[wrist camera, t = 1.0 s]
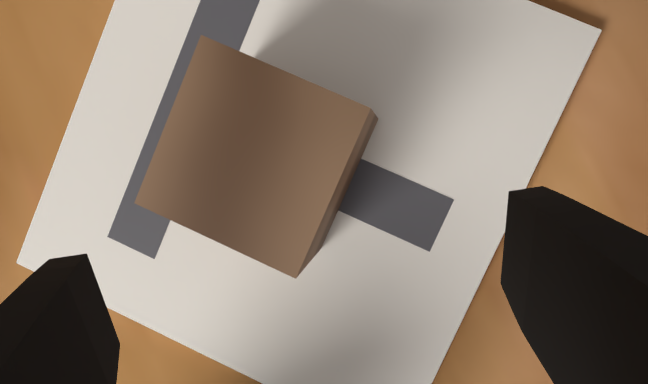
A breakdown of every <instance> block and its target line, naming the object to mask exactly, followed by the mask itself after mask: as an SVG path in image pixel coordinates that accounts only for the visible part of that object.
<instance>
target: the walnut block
mask: <svg viewBox="0 0 648 384" xmlns="http://www.w3.org/2000/svg"><path fill="white" fill-rule="evenodd" d="M377 121H378V117H377V116H376V114H375V113H374V112H373V110H372V109H371V108H369V107H367V106H365V105H363V104H360V103H358V102H356V101H353V100H351V99H349V98H346V97H344V96H342V95H339V94H337V93H335V92H332V91H330V90H328V89H326V88H323V87H321V86H319V85H316V84H314V83H312V82H309V81H307V80H305V79H302V78H300V77H298V76H295V75H293V74H291V73H289V72H286V71H284V70H282V69H279V68H277V67H275V66H272V65H270V64H268V63H265V62H263V61H261V60H258V59H256V58H254V57H252V56H249V55H247V54H245V53H242V52H240V51H238V50H235V49H233V48H231V47H228V46H226V45H224V44H221V43H219V42H217V41H214V40H212V39H210V38H208V37H205V36H203V35H201V36H200V39H199V41H198V44H197V46H196V49H195V51H194V54H193V56H192V59H191V61H190V64H189V66H188V69H187V71H186V74H185V76H184V79H183V81H182V84H181V86H180V89H179V91H178V94H177V96H176V99H175V101H174V104H173V107H172V109H171V112H170V114H169V117H168V119H167V122H166V124H165V127H164V129H163V132H162V134H161V137H160V139H159V142H158V144H157V147H156V149H155V152H154V154H153V157H152V159H151V162H150V164H149V167H148V169H147V172H146V175H145V177H144V180H143V182H142V185H141V187H140V190H139V192H138V195H137V197H136V200H135V202H134V203H135V204H137V205H139V206H141V207H144V208H146V209H148V210H150V211H152V212H154V213H156V214H158V215H161V216H163V217H165V218H167V219H169V220H171V221H173V222H176V223H178V224H180V225H182V226H184V227H186V228H188V229H190V230H193V231H195V232H197V233H199V234H201V235H203V236H205V237H208V238H210V239H212V240H214V241H216V242H218V243H220V244H222V245H225V246H227V247H229V248H231V249H233V250H235V251H237V252H240V253H242V254H244V255H246V256H248V257H250V258H252V259H255V260H257V261H259V262H261V263H263V264H265V265H267V266H269V267H272V268H274V269H276V270H278V271H280V272H282V273H284V274H287V275H289V276H291V277H293V278H295V279H296V278H297V277H298V276H299V274H300V273H301V272H302V271H303V270H304V268H305V267H306V266H307V265H308V264H309V262H310V261H311V260H312V259H313V258H314V257H315V255H316V254H317V253H318V252H319V251H320V249H321V248H322V246H323V243H324V241H325V239H326V236H327V234H328V232H329V230H330V227H331V225H332V223H333V221H334V218H335V216H336V214H337V212H338V209H339V207H340V205H341V203H342V200H343V198H344V196H345V194H346V191H347V189H348V187H349V184H350V182H351V180H352V178H353V175H354V173H355V171H356V169H357V166H358V164H359V162H360V160H361V157H362V155H363V153H364V151H365V148H366V146H367V144H368V142H369V139H370V137H371V135H372V133H373V130H374V128H375V126H376V123H377Z"/></svg>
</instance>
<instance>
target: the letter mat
mask: <svg viewBox="0 0 648 384" xmlns="http://www.w3.org/2000/svg"><path fill="white" fill-rule="evenodd" d="M601 31H602V30H601V29H598V28H596V27H593V26H591V25H588V24H586V23H583V22H581V21H578V20H576V19H573V18H571V17H568V16H566V15H563V14H561V13H558V12H556V11H553V10H551V9H548V8H546V7H544V6H541V5H539V4H536V3H534V2H531V1H529V0H115V2H114V4H113V7H112V10H111V12H110V15H109V18H108V20H107V23H106V26H105V28H104V31H103V33H102V36H101V39H100V41H99V44H98V47H97V49H96V52H95V55H94V57H93V60H92V63H91V65H90V68H89V71H88V73H87V76H86V79H85V81H84V84H83V87H82V89H81V92H80V95H79V97H78V100H77V103H76V105H75V108H74V111H73V113H72V116H71V119H70V121H69V124H68V127H67V129H66V132H65V135H64V137H63V140H62V143H61V145H60V148H59V150H58V153H57V156H56V158H55V161H54V164H53V166H52V169H51V172H50V174H49V177H48V180H47V182H46V185H45V188H44V190H43V193H42V196H41V198H40V201H39V204H38V206H37V209H36V212H35V214H34V217H33V220H32V222H31V225H30V228H29V230H28V233H27V236H26V238H25V241H24V244H23V246H22V249H21V252H20V254H19V257H18V260H17V262H16V263H18V264H20V265H22V266H24V267H26V268H28V269H30V270H32V271H34V272H35V271H36V270H37V269H38V268H39V267H40V266H42V265H43V264H44V263H45V262H46V261H48V260H49V259H53V258H59V257H66V256H73V255H80V254H87V255H88V258H89V261H90V263H91V266H92V269H93V272H94V274H95V277H96V280H97V282H98V285H99V288H100V291H101V293H102V296H103V299H104V302H105V304H106V307H107V308H109V309H111V310H113V311H116V312H118V313H120V314H122V315H124V316H126V317H128V318H130V319H132V320H134V321H136V322H138V323H140V324H142V325H144V326H146V327H148V328H150V329H152V330H154V331H156V332H158V333H160V334H162V335H164V336H167V337H169V338H171V339H173V340H175V341H177V342H179V343H181V344H183V345H185V346H187V347H189V348H191V349H193V350H195V351H197V352H199V353H201V354H203V355H205V356H207V357H209V358H211V359H213V360H216V361H218V362H220V363H222V364H224V365H226V366H228V367H230V368H232V369H234V370H236V371H238V372H240V373H242V374H244V375H246V376H248V377H250V378H252V379H254V380H256V381H258V382H260V383H262V384H432V382H433V380H434V378H435V376H436V374H437V371H438V369H439V367H440V365H441V363H442V361H443V359H444V357H445V355H446V353H447V351H448V349H449V347H450V344H451V342H452V340H453V338H454V336H455V334H456V332H457V330H458V328H459V326H460V324H461V322H462V320H463V317H464V315H465V313H466V311H467V309H468V307H469V305H470V303H471V301H472V299H473V297H474V295H475V293H476V290H477V288H478V286H479V284H480V282H481V280H482V278H483V276H484V274H485V272H486V270H487V268H488V266H489V263H490V261H491V259H492V257H493V255H494V253H495V251H496V249H497V247H498V245H499V243H500V241H501V239H502V236H503V234H504V232H505V227H506V216H507V204H508V193H509V191H513V190H520V189H526V187H527V184H528V182H529V180H530V178H531V176H532V174H533V172H534V170H535V168H536V166H537V164H538V162H539V160H540V157H541V155H542V153H543V151H544V149H545V147H546V145H547V143H548V141H549V139H550V137H551V135H552V133H553V130H554V128H555V126H556V124H557V122H558V120H559V118H560V116H561V114H562V112H563V110H564V108H565V106H566V103H567V101H568V99H569V97H570V95H571V93H572V91H573V89H574V87H575V85H576V83H577V81H578V79H579V76H580V74H581V72H582V70H583V68H584V66H585V64H586V62H587V60H588V58H589V56H590V54H591V52H592V49H593V47H594V45H595V43H596V41H597V39H598V37H599V35H600V33H601ZM201 35H203V36H205V37H208V38H210V39H212V40H214V41H217V42H219V43H221V44H224V45H226V46H228V47H231V48H233V49H235V50H238V51H240V52H242V53H245V54H247V55H249V56H252V57H254V58H256V59H258V60H261V61H263V62H265V63H268V64H270V65H272V66H275V67H277V68H279V69H282V70H284V71H286V72H289V73H291V74H293V75H295V76H298V77H300V78H302V79H305V80H307V81H309V82H312V83H314V84H316V85H319V86H321V87H323V88H326V89H328V90H330V91H332V92H335V93H337V94H339V95H342V96H344V97H346V98H349V99H351V100H353V101H356V102H358V103H360V104H363V105H365V106H367V107H369V108H371V109H372V110H373V112H374V113H375V114H376V116H377V117H378V121H377V123H376V126H375V128H374V130H373V133H372V135H371V137H370V139H369V142H368V144H367V146H366V148H365V151H364V153H363V155H362V157H361V160H360V162H359V164H358V166H357V169H356V171H355V173H354V175H353V178H352V180H351V182H350V184H349V187H348V189H347V191H346V194H345V196H344V198H343V200H342V203H341V205H340V207H339V209H338V212H337V214H336V216H335V218H334V221H333V223H332V225H331V227H330V230H329V232H328V234H327V236H326V239H325V241H324V243H323V246H322V248H321V249H320V251H319V252H318V253H317V254H316V255H315V257H314V258H313V259H312V260H311V261H310V262H309V264H308V265H307V266H306V267H305V268H304V270H303V271H302V272H301V273H300V274H299V276H298V277H297V278H296V279H295V278H293V277H291V276H289V275H287V274H284V273H282V272H280V271H278V270H276V269H274V268H272V267H269V266H267V265H265V264H263V263H261V262H259V261H257V260H255V259H252V258H250V257H248V256H246V255H244V254H242V253H240V252H237V251H235V250H233V249H231V248H229V247H227V246H225V245H222V244H220V243H218V242H216V241H214V240H212V239H210V238H208V237H205V236H203V235H201V234H199V233H197V232H195V231H193V230H190V229H188V228H186V227H184V226H182V225H180V224H178V223H176V222H173V221H171V220H169V219H167V218H165V217H163V216H161V215H158V214H156V213H154V212H152V211H150V210H148V209H146V208H144V207H141V206H139V205H137V204H135V203H134V202H135V200H136V197H137V195H138V192H139V190H140V187H141V185H142V182H143V180H144V177H145V175H146V172H147V169H148V167H149V164H150V162H151V159H152V157H153V154H154V152H155V149H156V147H157V144H158V142H159V139H160V137H161V134H162V132H163V129H164V127H165V124H166V122H167V119H168V117H169V114H170V112H171V109H172V107H173V104H174V101H175V99H176V96H177V94H178V91H179V89H180V86H181V84H182V81H183V79H184V76H185V74H186V71H187V69H188V66H189V64H190V61H191V59H192V56H193V54H194V51H195V49H196V46H197V44H198V41H199V39H200V36H201Z"/></svg>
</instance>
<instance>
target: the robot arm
mask: <svg viewBox="0 0 648 384" xmlns="http://www.w3.org/2000/svg"><path fill="white" fill-rule="evenodd" d="M501 285H502V288H503V290H504V292H505V295H506V297H507V299H508V302H509V304H510V306H511V309H512V311H513V313H514V315H515V317H516V320H517V322H518V324H519V326H520V328H521V330H522V332H523V334H524V336H525V337H526V339H527V341H528V342H529V344H530V346H531V347H532V349H533V351H534V352H535V354H536V355H537V357H538V359H539V360H540V362H541V364H542V365H543V367H544V368H545V370H546V372H547V373H548V375H549V376H550V378H551V380H552V381H553V383H554V384H648V236H646V235H644V234H642V233H640V232H638V231H636V230H634V229H632V228H630V227H628V226H626V225H624V224H622V223H620V222H618V221H616V220H614V219H612V218H610V217H608V216H606V215H604V214H602V213H600V212H597V211H595V210H593V209H591V208H589V207H587V206H585V205H583V204H581V203H579V202H577V201H575V200H573V199H571V198H569V197H567V196H565V195H562V194H560V193H558V192H556V191H553V190H551V189H548V188H546V187H543V186H541V187H534V188H527V189H520V190H513V191H509V193H508V204H507V216H506V227H505V239H504V250H503V262H502V273H501ZM119 349H120V342H119V340H118V337H117V334H116V332H115V329H114V326H113V323H112V321H111V318H110V315H109V312H108V310H107V307H106V304H105V302H104V299H103V296H102V293H101V291H100V288H99V285H98V282H97V280H96V277H95V274H94V272H93V269H92V266H91V263H90V261H89V258H88V255H87V254H80V255H73V256H66V257H59V258H53V259H49V260H48V261H46V262H45V263H44V264H43V265H42V266H40V267H39V268H38V269H37V270H36V271H35V272H34V273H33V274H32V275H30V276H29V277H28V278H27V279H26V280H25V281H24V282H23V283H22V284H21V285H20V286H19V287H18V288H17V289H16V290H15V291H14V292H13V293H12V294H11V295H10V296H8V297H7V298H6V299H5V300H4V301H3V302H2V303H1V304H0V384H116V380H117V371H118V360H119Z"/></svg>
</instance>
